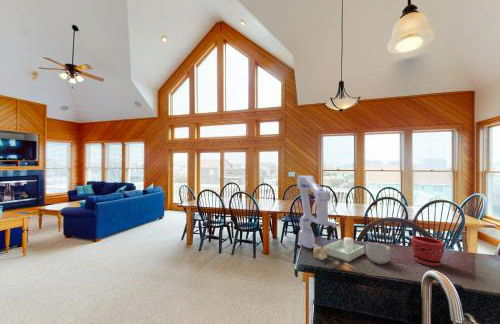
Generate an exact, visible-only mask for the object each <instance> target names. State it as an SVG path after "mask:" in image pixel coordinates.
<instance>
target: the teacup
mask: <svg viewBox="0 0 500 324" xmlns="http://www.w3.org/2000/svg"><path fill="white" fill-rule="evenodd" d="M365 248H366V256H367V258H368V259H369V260H370V261H371V262H372V263H374V264H378V265H379V264H380V265H384V264H387V263H388V262H389V261H390V259H391V250H390V249H391V247H390V246H388V245H386V244H383V243H382V244H381V243H378V242H374V243H367V244H365Z"/></svg>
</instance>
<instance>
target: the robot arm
mask: <svg viewBox="0 0 500 324" xmlns="http://www.w3.org/2000/svg"><path fill="white" fill-rule="evenodd" d="M296 186H297V189H298V190H299V191H300V193H299V194H300V197H301V206H302V213H303V215H302V216H301V217H300V218H299V228H300V230H299V231H298V242H297V245H299V246H302V244H303V246H302V247H305V248H307V249H312V248H315V247H317V246H318V244H315V240H316V239H315V238H317V237H318V228H319V225H320V226H326V227H325V230H326V240H327V241H331V238H332V234H333V232H334V230H335V229H336V227H337V223H335V222H332V221H329V218H328V215H329V214H328V213H329V211H328V210H329V209H328V208H329V201H330V200H331V193H330V192H329V191H328V190H324V188H323V187H322V186H321V185H320V184H319V183H316V181H315V177H314V176H313V175H298V176H297V178H296ZM309 190H310V191H311V193H313V195H314V199H315V205H316V217H315V216H314V215H312V210H311V202H310V195H309Z"/></svg>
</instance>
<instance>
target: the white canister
mask: <svg viewBox="0 0 500 324" xmlns="http://www.w3.org/2000/svg"><path fill="white" fill-rule="evenodd" d="M343 241H344V251H345V252H351V251H353V244H354V238H352V237H347V236H346V237H345V236H344V237H343Z"/></svg>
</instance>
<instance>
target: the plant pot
mask: <svg viewBox="0 0 500 324" xmlns="http://www.w3.org/2000/svg"><path fill="white" fill-rule="evenodd" d="M410 241H411V249H412V252H413V255H412V259H413V260H414V261H415V262H417V263H419V264H422V265H425V266H430V267H437V266H438V267H439V266H440V265H442V261H441V259H442V258H443V256H444V252H445V243H444V242H443V241H441V240H439V239H436V238H431V237H426V236H422V235H421V236H420V235H413V236H411V240H410Z"/></svg>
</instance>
